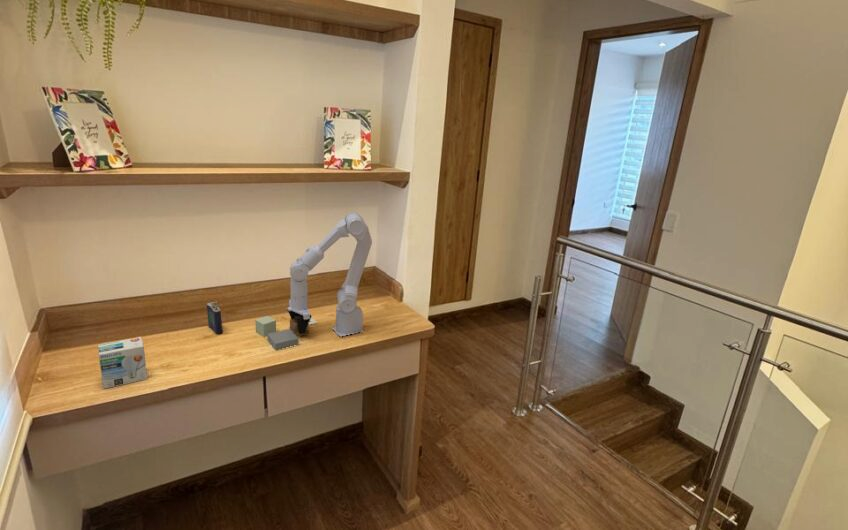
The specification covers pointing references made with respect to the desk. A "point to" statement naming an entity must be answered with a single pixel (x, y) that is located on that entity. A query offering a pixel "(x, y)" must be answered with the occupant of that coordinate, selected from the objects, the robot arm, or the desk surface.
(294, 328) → the walnut block
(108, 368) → the light bulb box
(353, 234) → the robot arm
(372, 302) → the desk surface
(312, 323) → the placard
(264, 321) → the sage block
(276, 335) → the slate slab
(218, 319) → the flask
